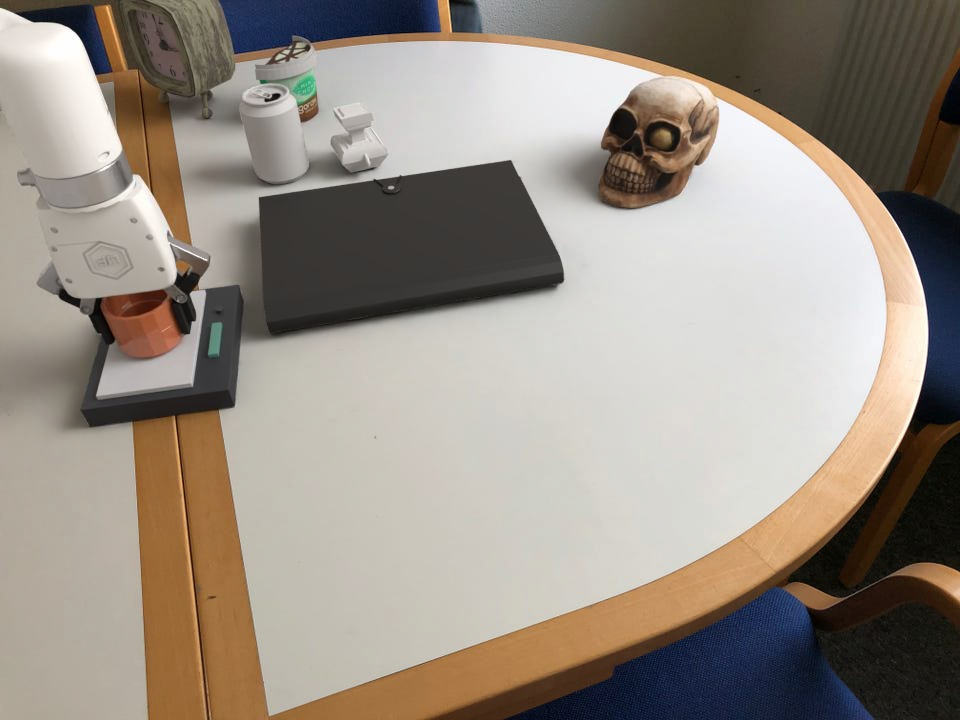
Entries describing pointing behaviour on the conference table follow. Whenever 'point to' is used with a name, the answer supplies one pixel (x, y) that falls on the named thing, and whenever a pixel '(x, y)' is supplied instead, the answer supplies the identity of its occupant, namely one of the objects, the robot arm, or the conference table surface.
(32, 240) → the conference table surface
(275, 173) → the can
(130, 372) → the scale
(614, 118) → the beige skull model
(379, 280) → the file folder
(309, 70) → the food container
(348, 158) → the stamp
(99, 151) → the robot arm
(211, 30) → the tabletop clock
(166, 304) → the terracotta plant pot
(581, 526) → the conference table surface
